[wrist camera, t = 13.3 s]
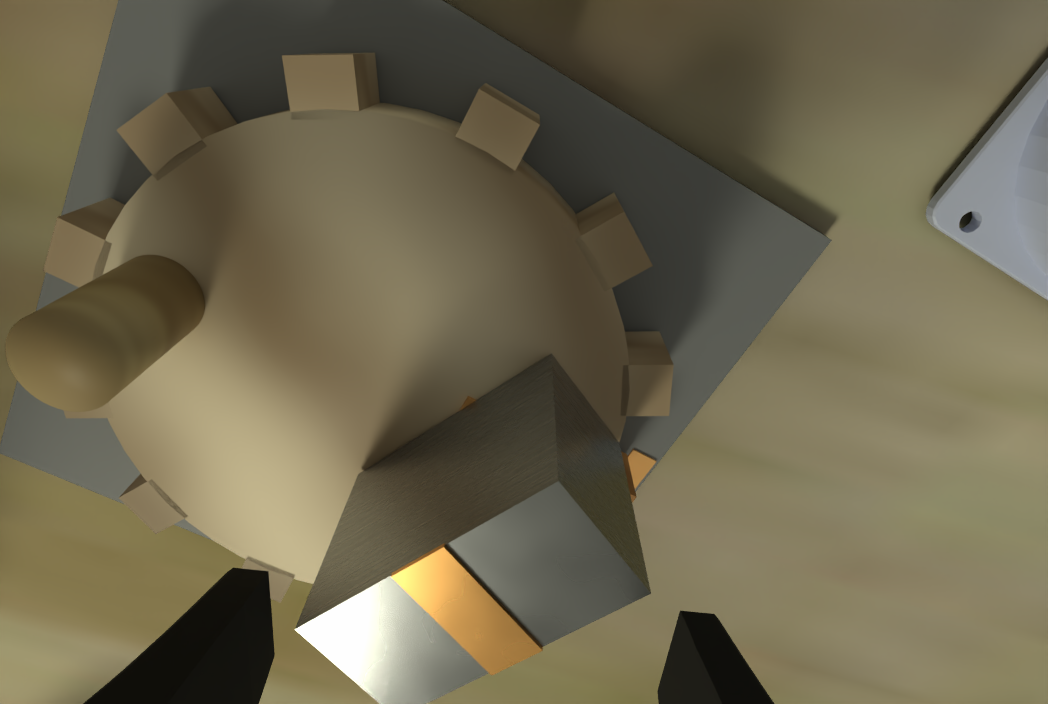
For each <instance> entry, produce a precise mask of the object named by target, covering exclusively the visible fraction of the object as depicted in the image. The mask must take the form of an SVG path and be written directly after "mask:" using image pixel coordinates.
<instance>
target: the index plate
mask: <svg viewBox="0 0 1048 704" xmlns="http://www.w3.org/2000/svg"><path fill="white" fill-rule="evenodd" d="M318 53H375V58H376V68H377V78H378V88H379V98H380V103H389V104H394V105H399V106H404V107H409V108H414V109H420V110H424V111H427V112H430V113H433V114H436V115H439V116H442V117H445V118H448V119H451V120H454V121H457V122H459V123H461V124H462V122H463V120H464V118H465V116H466V114H467V112H468V110H469V108H470V106H471V104H472V102H473V100H474V98H475V96H476V94H477V92H478V90H479V88H480V87H482V86H483V85H484V84H485V83H487V84H488V85H490V86H492V87H494V88H495V89H497V90H499V91H500V92H502V93H504V94H505V95H507V96H509V97H510V98H512V99H514V100H515V101H517V102H519V103H520V104H522V105H524V106H525V107H527V108H529V109H530V110H532V111H534V112H535V113H537V114H539V116H540V126H539V128H538V130H537V131H536V133H535V135H534V137H533V139H532V141H531V142H530V144H529V146H528V148H527V150H526V152H525V153H524V155H523V157H522V159H523V160H524V161H525V162H526V163H528V164H529V165H530V166H531V167H532V168H533V169H534V170H536V171H537V172H538V173H539V174H540V175H541V176H542V177H544V178H545V179H546V180H547V181H548V182H549V183H550V184H551V185H552V186H553V187H554V188H555V190H556V191H557V192H558V193H559V194H560V195H561V196H562V198H563V199H564V200H565V201H566V202H567V203H568V205H569V206H570V207H571V208H572V209H573V211H574V212H575V214H577V213H579V212H581V211H582V210H584V209H586V208H588V207H589V206H591V205H593V204H595V203H596V202H598V201H600V200H601V199H603V198H605V197H607V196H608V195H610V194H612V193H615V195H616V197H617V199H618V201H619V203H620V205H621V206H622V208H623V210H624V212H625V214H626V216H627V218H628V220H629V221H630V223H631V225H632V227H633V229H634V231H635V233H636V235H637V236H638V238H639V240H640V242H641V244H642V246H643V248H644V250H645V252H646V254H647V255H648V257H649V259H650V261H651V263H652V265H653V266H652V267H650V268H648V269H646V270H644V271H642V272H641V273H639V274H637V275H635V276H633V277H631V278H629V279H628V280H626V281H624V282H622V283H620V284H618V285H616V286H615V287H613V288H612V290H613V293H614V296H615V300H616V303H617V306H618V309H619V312H620V316H621V319H622V322H623V325H624V330H625V332H639V331H659V332H660V334H661V336H662V339H663V341H664V343H665V346H666V348H667V350H668V353H669V355H670V357H671V360H672V362H673V364H674V366H673V377H672V388H671V399H670V410H669V416H626V422H625V425H624V428H623V432H622V435H621V439H620V442H619V443H620V448H621V451H622V452H624V453H626V454H627V457H628V461H629V466H630V470H631V475H632V479H633V484H634V488H635V492H636V491H637V489H638V488H639V487H640V486H641V484H642V483H643V482H644V480H645V479H646V478H647V477H648V475H649V474H650V473H651V471H652V470H653V469H654V468H655V466H656V465H657V464H658V462H659V461H660V460H661V459H662V457H663V456H664V455H665V453H666V452H667V451H668V450H669V448H670V447H671V446H672V445H673V443H674V442H675V441H676V439H677V438H678V437H679V436H680V434H681V433H682V432H683V430H684V429H685V428H686V427H687V425H688V424H689V423H690V421H691V420H692V419H693V418H694V416H695V415H696V414H697V412H698V411H699V410H700V409H701V407H702V406H703V405H704V403H705V402H706V401H707V400H708V398H709V397H710V396H711V394H712V393H713V392H714V391H715V389H716V388H717V387H718V385H719V384H720V383H721V382H722V380H723V379H724V378H725V377H726V375H727V374H728V373H729V371H730V370H731V369H732V368H733V366H734V365H735V364H736V362H737V361H738V360H739V359H740V357H741V356H742V355H743V353H744V352H745V351H746V350H747V348H748V347H749V346H750V344H751V343H752V342H753V341H754V339H755V338H756V337H757V335H758V334H759V333H760V332H761V330H762V329H763V328H764V326H765V325H766V324H767V323H768V321H769V320H770V319H771V317H772V316H773V315H774V314H775V312H776V311H777V310H778V308H779V307H780V306H781V305H782V303H783V302H784V301H785V300H786V298H787V297H788V296H789V294H790V293H791V292H792V291H793V289H794V288H795V287H796V285H797V284H798V283H799V282H800V280H801V279H802V278H803V276H804V275H805V274H806V273H807V271H808V270H809V269H810V267H811V266H812V265H813V264H814V262H815V261H816V260H817V258H818V257H819V256H820V255H821V253H822V252H823V251H824V249H825V248H826V247H827V246H828V244H829V243H830V242H831V241H832V240H831V239H829V238H828V237H826V236H825V235H823V234H821V233H820V232H818V231H816V230H815V229H813V228H812V227H810V226H808V225H807V224H805V223H804V222H802V221H800V220H799V219H797V218H795V217H794V216H792V215H791V214H789V213H787V212H786V211H784V210H782V209H781V208H779V207H778V206H776V205H774V204H773V203H771V202H769V201H768V200H766V199H765V198H763V197H761V196H760V195H758V194H756V193H755V192H753V191H752V190H750V189H748V188H747V187H745V186H743V185H742V184H740V183H739V182H737V181H735V180H734V179H732V178H730V177H729V176H727V175H726V174H724V173H722V172H721V171H719V170H718V169H716V168H714V167H713V166H711V165H709V164H708V163H706V162H705V161H703V160H701V159H700V158H698V157H696V156H695V155H693V154H692V153H690V152H688V151H687V150H685V149H683V148H682V147H680V146H679V145H677V144H675V143H674V142H672V141H670V140H669V139H667V138H666V137H664V136H662V135H661V134H659V133H657V132H656V131H654V130H653V129H651V128H649V127H648V126H646V125H644V124H643V123H641V122H640V121H638V120H636V119H635V118H633V117H631V116H630V115H628V114H627V113H625V112H623V111H622V110H620V109H619V108H617V107H615V106H614V105H612V104H610V103H609V102H607V101H606V100H604V99H602V98H601V97H599V96H597V95H596V94H594V93H593V92H591V91H589V90H588V89H586V88H584V87H583V86H581V85H580V84H578V83H576V82H575V81H573V80H571V79H570V78H568V77H567V76H565V75H563V74H562V73H560V72H558V71H557V70H555V69H554V68H552V67H550V66H549V65H547V64H545V63H544V62H542V61H541V60H539V59H537V58H536V57H534V56H532V55H531V54H529V53H528V52H526V51H524V50H523V49H521V48H520V47H518V46H516V45H515V44H513V43H511V42H510V41H508V40H507V39H505V38H503V37H502V36H500V35H498V34H497V33H495V32H494V31H492V30H490V29H489V28H487V27H485V26H484V25H482V24H481V23H479V22H477V21H476V20H474V19H472V18H471V17H469V16H468V15H466V14H464V13H463V12H461V11H459V10H458V9H456V8H455V7H453V6H451V5H450V4H448V3H446V2H445V1H443V0H119V1H118V4H117V8H116V12H115V16H114V19H113V23H112V27H111V31H110V34H109V38H108V42H107V46H106V49H105V53H104V57H103V61H102V64H101V68H100V72H99V76H98V80H97V83H96V87H95V91H94V95H93V98H92V102H91V106H90V110H89V113H88V117H87V121H86V125H85V128H84V132H83V136H82V140H81V143H80V147H79V151H78V155H77V158H76V162H75V166H74V170H73V173H72V177H71V181H70V185H69V188H68V192H67V196H66V200H65V203H64V207H63V211H62V215H64V214H67V213H70V212H72V211H75V210H78V209H81V208H83V207H86V206H89V205H91V204H94V203H97V202H99V201H102V200H105V199H107V198H112V199H114V200H116V201H118V202H120V203H122V204H124V205H126V203H127V202H128V201H129V200H130V199H131V198H132V196H133V195H134V194H135V193H136V192H137V190H138V189H139V188H140V187H141V186H142V185H143V183H144V182H145V181H146V180H147V179H148V178H149V177H150V176H151V175H152V174H151V172H150V171H149V170H148V169H147V167H146V166H145V165H144V164H143V163H142V161H141V160H140V159H139V158H138V156H137V155H136V154H135V153H134V151H133V150H132V149H131V148H130V146H129V145H128V144H127V143H126V142H125V140H124V139H123V138H122V137H121V135H120V134H119V133H118V132H117V129H118V128H120V127H121V126H122V125H124V124H125V123H127V122H128V121H129V120H131V119H132V118H133V117H135V116H136V115H137V114H139V113H140V112H141V111H143V110H144V109H145V108H147V107H148V106H149V105H151V104H152V103H154V102H155V101H156V100H158V99H159V98H160V97H162V96H163V95H164V94H166V93H169V92H176V91H183V90H190V89H197V88H204V87H211V88H212V90H213V91H214V92H215V94H216V95H217V96H218V98H219V99H220V101H221V102H222V103H223V105H224V106H225V107H226V109H227V110H228V111H229V113H230V114H231V115H232V117H233V118H234V120H235V121H236V122H237V124H239V123H242V122H245V121H248V120H252V119H255V118H259V117H262V116H266V115H269V114H273V113H277V112H280V111H285V110H289V109H290V106H289V99H288V93H287V86H286V80H285V73H284V67H283V60H282V55H298V54H318ZM62 215H61V216H62ZM78 288H79V287H77V286H75V285H73V284H70V283H68V282H66V281H64V280H62V279H60V278H58V277H55V276H53V275H51V274H49V273H47V272H46V275H45V279H44V282H43V286H42V290H41V294H40V297H39V301H38V305H37V309H36V311H37V310H39V309H41V308H43V307H44V306H46V305H48V304H50V303H52V302H54V301H55V300H57V299H59V298H61V297H63V296H65V295H66V294H68V293H70V292H72V291H74V290H76V289H78ZM0 454H3V455H5V456H8V457H10V458H13V459H15V460H18V461H20V462H22V463H25V464H27V465H30V466H32V467H35V468H37V469H40V470H42V471H44V472H47V473H49V474H52V475H54V476H57V477H59V478H62V479H64V480H66V481H69V482H71V483H74V484H76V485H79V486H81V487H84V488H86V489H88V490H91V491H93V492H96V493H98V494H101V495H103V496H105V497H108V498H110V499H113V500H115V501H118V502H120V503H123V502H122V501H121V500H120V499H119V497H120V496H121V495H122V493H123V492H124V491H125V490H126V489H127V488H128V487H129V486H130V485H131V484H132V482H133V481H134V480H135V479H136V478H137V477H138V476H139V475H140V474H141V473H140V472H139V470H138V469H137V468H136V466H135V465H134V463H133V462H132V461H131V459H130V458H129V456H128V455H127V454H126V452H125V451H124V449H123V447H122V445H121V443H120V441H119V440H118V438H117V436H116V434H115V432H114V430H113V429H112V427H111V425H110V423H109V421H108V418H66V416H65V414H64V411H63V410H61V409H57V408H55V407H52V406H50V405H48V404H45V403H43V402H42V401H40V400H38V399H37V398H35V397H34V396H33V395H31V394H30V393H29V392H28V391H27V390H26V389H25V388H24V387H23V386H22V385H21V384H20V383H19V382H18V380H17V384H16V388H15V391H14V395H13V399H12V403H11V406H10V410H9V414H8V418H7V421H6V425H5V429H4V433H3V436H2V440H1V444H0ZM123 504H124V503H123ZM174 525H176V526H179V527H181V528H184V529H186V530H189V531H191V532H193V533H196V534H198V535H201V536H203V537H206V538H208V539H211V538H209V537H208V536H206V535H205V534H204V533H202V532H201V531H200V530H198V529H197V528H196V527H194V526H193V525H191V524H190V523H189V522H188V521H186V520H185V519H183V520H181V521H179V522H177V523H175V524H174ZM211 540H212V539H211Z"/></svg>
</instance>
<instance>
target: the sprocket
mask: <svg viewBox="0 0 1048 704" xmlns="http://www.w3.org/2000/svg"><path fill="white" fill-rule="evenodd" d="M282 60H283V67H284V73H285V80H286V86H287V93H288V99H289V106H290V109H289V110H285V111H280V112H277V113H273V114H269V115H266V116H262V117H259V118H255V119H252V120H248V121H245V122H242V123H239V124H237V122H236V121H235V120H234V118H233V117H232V115H231V114H230V113H229V111H228V110H227V109H226V107H225V106H224V105H223V103H222V102H221V101H220V99H219V98H218V96H217V95H216V94H215V92H214V91H213V90H212V88H211V87H204V88H197V89H190V90H183V91H176V92H169V93H166V94H164V95H163V96H162V97H160V98H159V99H158V100H156V101H155V102H154V103H152V104H151V105H149V106H148V107H147V108H145V109H144V110H143V111H141V112H140V113H139V114H137V115H136V116H135V117H133V118H132V119H131V120H129V121H128V122H127V123H125V124H124V125H122V126H121V127H120V128H118V129H117V132H118V133H119V134H120V135H121V137H122V138H123V139H124V140H125V142H126V143H127V144H128V145H129V146H130V148H131V149H132V150H133V151H134V153H135V154H136V155H137V156H138V158H139V159H140V160H141V161H142V163H143V164H144V165H145V166H146V167H147V169H148V170H149V171H150V172H151V174H152V175H151V176H150V177H149V178H148V179H147V180H146V181H145V182H144V183H143V185H142V186H141V187H140V188H139V189H138V190H137V192H136V193H135V194H134V195H133V196H132V198H131V199H130V200H129V201H128V202H127V203H126V205H124V204H122V203H120V202H118V201H116V200H114V199H112V198H107V199H105V200H102V201H99V202H97V203H94V204H91V205H89V206H86V207H83V208H81V209H78V210H75V211H72V212H70V213H67V214H64V215H62V216H59V217H57V220H56V224H55V228H54V232H53V235H52V239H51V243H50V247H49V251H48V254H47V258H46V262H45V266H44V270H43V271H45V272H47V273H49V274H51V275H53V276H55V277H58V278H60V279H62V280H64V281H66V282H68V283H70V284H73V285H75V286H77V287H79V288H78V289H76V290H74V291H72V292H70V293H68V294H66V295H65V296H63V297H61V298H59V299H57V300H55V301H54V302H52V303H50V304H48V305H46V306H44V307H43V308H41V309H39V310H37V311H35V312H33V313H32V314H30V315H28V316H26V317H24V318H22V319H21V320H19V321H18V322H17V323H16V324H15V325H14V326H13V327H12V328H11V330H10V331H9V333H8V336H7V339H6V344H5V352H6V358H7V362H8V365H9V367H10V369H11V371H12V373H13V375H14V376H15V378H16V379H17V380H18V382H19V383H20V384H21V385H22V386H23V387H24V388H25V389H26V390H27V391H28V392H29V393H30V394H31V395H33V396H34V397H35V398H37V399H38V400H40V401H42V402H43V403H45V404H48V405H50V406H52V407H55V408H57V409H61V410H63V411H64V414H65V416H66V418H108V421H109V423H110V425H111V427H112V429H113V430H114V432H115V434H116V436H117V438H118V440H119V441H120V443H121V445H122V447H123V449H124V451H125V452H126V454H127V455H128V456H129V458H130V459H131V461H132V462H133V463H134V465H135V466H136V468H137V469H138V470H139V472H140V473H141V474H140V475H139V476H138V477H137V478H136V479H135V480H134V481H133V482H132V484H131V485H130V486H129V487H128V488H127V489H126V490H125V491H124V492H123V493H122V495H121V496H120V497H119V499H120V500H121V501H122V502H123V503H124V504H125V505H126V506H127V507H128V508H129V509H130V510H131V511H133V512H134V513H135V514H136V515H137V516H138V517H139V518H140V519H141V520H142V521H143V522H144V523H145V524H146V525H147V526H148V527H149V528H150V529H151V530H152V531H153V532H154V533H155V534H157V533H159V532H161V531H162V530H164V529H166V528H168V527H170V526H172V525H174V524H175V523H177V522H179V521H181V520H183V519H185V520H186V521H188V522H189V523H190V524H191V525H193V526H194V527H196V528H197V529H198V530H200V531H201V532H202V533H204V534H205V535H206V536H208V537H209V538H211V539H212V540H213V541H215V542H217V543H218V544H220V545H222V546H223V547H225V548H227V549H229V550H230V551H232V552H234V553H235V554H237V555H239V556H240V557H242V558H245V559H246V560H245V562H244V564H243V566H242V568H241V569H251V570H261V571H269V585H270V599H273V600H275V601H278V602H281V601H282V599H283V597H284V595H285V593H286V591H287V590H288V588H289V586H290V584H291V582H292V580H293V578H294V579H296V580H300V581H304V582H308V583H312V584H314V581H315V579H316V576H317V574H318V572H319V569H320V567H321V564H322V562H323V559H324V557H325V554H326V552H327V549H328V547H329V545H330V542H331V540H332V537H333V535H334V532H335V530H336V527H337V525H338V522H339V520H340V517H341V515H342V513H343V510H344V508H345V505H346V503H347V500H348V498H349V495H350V493H351V490H352V488H353V486H354V483H355V481H356V478H357V476H358V474H359V473H361V472H362V471H364V470H365V469H367V468H369V467H370V466H372V465H373V464H375V463H377V462H378V461H380V460H381V459H383V458H385V457H386V456H388V455H389V454H391V453H393V452H394V451H396V450H397V449H399V448H401V447H402V446H404V445H405V444H407V443H409V442H410V441H412V440H413V439H415V438H417V437H418V436H420V435H421V434H423V433H425V432H426V431H428V430H429V429H431V428H433V427H434V426H436V425H437V424H439V423H441V422H442V421H444V420H445V419H447V418H449V417H450V416H452V415H454V414H455V413H457V412H458V411H460V410H462V409H463V408H465V407H466V406H468V405H470V404H471V403H473V402H474V401H476V400H478V399H479V398H481V397H482V396H484V395H486V394H487V393H489V392H490V391H492V390H494V389H495V388H497V387H498V386H500V385H502V384H503V383H505V382H506V381H508V380H510V379H511V378H513V377H514V376H516V375H518V374H519V373H521V372H522V371H524V370H526V369H527V368H529V367H530V366H532V365H534V364H535V363H537V362H538V361H540V360H542V359H543V358H545V357H546V356H548V355H550V354H551V353H552V354H553V356H554V357H555V358H556V360H557V361H558V362H559V364H560V365H561V366H562V368H563V369H564V370H565V371H566V373H567V374H568V375H569V377H570V378H571V379H572V381H573V382H574V383H575V385H576V386H577V387H578V389H579V390H580V391H581V393H582V394H583V395H584V397H585V398H586V399H587V401H588V402H589V403H590V405H591V406H592V407H593V409H594V410H595V411H596V412H597V414H598V415H599V416H600V418H601V419H602V420H603V422H604V423H605V424H606V426H607V427H608V428H609V430H610V431H611V432H612V434H613V435H614V436H615V438H616V439H617V440H618V442H620V439H621V435H622V432H623V428H624V425H625V422H626V416H669V410H670V399H671V388H672V377H673V366H674V364H673V362H672V360H671V357H670V355H669V353H668V350H667V348H666V346H665V343H664V341H663V339H662V336H661V334H660V332H659V331H639V332H625V330H624V325H623V322H622V319H621V316H620V312H619V309H618V306H617V303H616V300H615V296H614V293H613V290H612V288H613V287H615V286H616V285H618V284H620V283H622V282H624V281H626V280H628V279H629V278H631V277H633V276H635V275H637V274H639V273H641V272H642V271H644V270H646V269H648V268H650V267H652V266H653V265H652V263H651V261H650V259H649V257H648V255H647V254H646V252H645V250H644V248H643V246H642V244H641V242H640V240H639V238H638V236H637V235H636V233H635V231H634V229H633V227H632V225H631V223H630V221H629V220H628V218H627V216H626V214H625V212H624V210H623V208H622V206H621V205H620V203H619V201H618V199H617V197H616V195H615V193H612V194H610V195H608V196H607V197H605V198H603V199H601V200H600V201H598V202H596V203H595V204H593V205H591V206H589V207H588V208H586V209H584V210H582V211H581V212H579V213H577V214H575V212H574V211H573V209H572V208H571V207H570V206H569V205H568V203H567V202H566V201H565V200H564V199H563V198H562V196H561V195H560V194H559V193H558V192H557V191H556V190H555V188H554V187H553V186H552V185H551V184H550V183H549V182H548V181H547V180H546V179H545V178H544V177H542V176H541V175H540V174H539V173H538V172H537V171H536V170H534V169H533V168H532V167H531V166H530V165H529V164H528V163H526V162H525V161H524V160H523V159H522V157H523V155H524V153H525V152H526V150H527V148H528V146H529V144H530V142H531V141H532V139H533V137H534V135H535V133H536V131H537V130H538V128H539V126H540V116H539V114H537V113H535V112H534V111H532V110H530V109H529V108H527V107H525V106H524V105H522V104H520V103H519V102H517V101H515V100H514V99H512V98H510V97H509V96H507V95H505V94H504V93H502V92H500V91H499V90H497V89H495V88H494V87H492V86H490V85H488V84H487V83H485V84H484V85H483V86H482V87H480V88H479V90H478V92H477V94H476V96H475V98H474V100H473V102H472V104H471V106H470V108H469V110H468V112H467V114H466V116H465V118H464V120H463V122H462V124H461V123H459V122H457V121H454V120H451V119H448V118H445V117H442V116H439V115H436V114H433V113H430V112H427V111H424V110H420V109H414V108H409V107H404V106H399V105H394V104H389V103H380V98H379V88H378V78H377V68H376V58H375V53H318V54H298V55H282ZM621 453H622V457H623V462H624V467H625V472H626V477H627V481H628V486H629V491H630V496H631V500H632V502H633V501H634V500H635V498H636V493H635V488H634V484H633V479H632V475H631V470H630V466H629V461H628V457H627V454H626V453H624V452H622V451H621Z"/></svg>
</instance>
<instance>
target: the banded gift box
mask: <svg viewBox="0 0 1048 704" xmlns="http://www.w3.org/2000/svg"><path fill="white" fill-rule="evenodd" d="M649 594H651V591H650V586H649V582H648V577H647V572H646V567H645V563H644V558H643V553H642V548H641V543H640V539H639V534H638V529H637V524H636V520H635V515H634V510H633V505H632V500H631V496H630V491H629V486H628V481H627V477H626V472H625V467H624V462H623V457H622V453H621V448H620V443H619V442H618V440H617V439H616V438H615V436H614V435H613V434H612V432H611V431H610V430H609V428H608V427H607V426H606V424H605V423H604V422H603V420H602V419H601V418H600V416H599V415H598V414H597V412H596V411H595V410H594V409H593V407H592V406H591V405H590V403H589V402H588V401H587V399H586V398H585V397H584V395H583V394H582V393H581V391H580V390H579V389H578V387H577V386H576V385H575V383H574V382H573V381H572V379H571V378H570V377H569V375H568V374H567V373H566V371H565V370H564V369H563V368H562V366H561V365H560V364H559V362H558V361H557V360H556V358H555V357H554V356H553V354H552V353H551V354H550V355H548V356H546V357H545V358H543V359H542V360H540V361H538V362H537V363H535V364H534V365H532V366H530V367H529V368H527V369H526V370H524V371H522V372H521V373H519V374H518V375H516V376H514V377H513V378H511V379H510V380H508V381H506V382H505V383H503V384H502V385H500V386H498V387H497V388H495V389H494V390H492V391H490V392H489V393H487V394H486V395H484V396H482V397H481V398H479V399H478V400H476V401H474V402H473V403H471V404H470V405H468V406H466V407H465V408H463V409H462V410H460V411H458V412H457V413H455V414H454V415H452V416H450V417H449V418H447V419H445V420H444V421H442V422H441V423H439V424H437V425H436V426H434V427H433V428H431V429H429V430H428V431H426V432H425V433H423V434H421V435H420V436H418V437H417V438H415V439H413V440H412V441H410V442H409V443H407V444H405V445H404V446H402V447H401V448H399V449H397V450H396V451H394V452H393V453H391V454H389V455H388V456H386V457H385V458H383V459H381V460H380V461H378V462H377V463H375V464H373V465H372V466H370V467H369V468H367V469H365V470H364V471H362V472H361V473H359V474H358V476H357V478H356V481H355V483H354V486H353V488H352V490H351V493H350V495H349V498H348V500H347V503H346V505H345V508H344V510H343V513H342V515H341V517H340V520H339V522H338V525H337V527H336V530H335V532H334V535H333V537H332V540H331V542H330V545H329V547H328V549H327V552H326V554H325V557H324V559H323V562H322V564H321V567H320V569H319V572H318V574H317V576H316V579H315V581H314V584H313V586H312V589H311V591H310V594H309V596H308V599H307V601H306V603H305V606H304V608H303V611H302V613H301V616H300V618H299V621H298V623H297V626H296V628H295V630H296V631H297V632H298V633H299V634H301V635H302V636H303V637H304V638H305V639H306V640H307V641H309V642H310V643H311V644H312V645H313V646H314V647H315V648H317V649H318V650H319V651H320V652H321V653H322V654H323V655H325V656H326V657H327V658H328V659H329V660H330V661H331V662H333V663H334V664H335V665H336V666H337V667H338V668H339V669H341V670H342V671H343V672H344V673H345V674H346V675H348V676H349V677H350V678H351V679H352V680H353V681H354V682H356V683H357V684H358V685H359V686H360V687H361V688H362V689H364V690H365V691H366V692H367V693H368V694H369V695H370V696H372V697H373V698H374V699H375V700H376V701H377V702H378V703H380V704H427V703H429V702H431V701H433V700H435V699H437V698H439V697H441V696H443V695H445V694H447V693H449V692H451V691H453V690H455V689H457V688H459V687H461V686H463V685H465V684H467V683H470V682H472V681H474V680H476V679H478V678H480V677H482V676H484V675H486V674H488V673H489V674H490V675H494V674H496V673H498V672H500V671H502V670H504V669H506V668H508V667H510V666H512V665H514V664H516V663H518V662H520V661H522V660H524V659H526V658H528V657H531V656H533V655H535V654H537V653H539V652H541V651H543V650H542V647H543V646H545V645H547V644H549V643H551V642H553V641H555V640H557V639H559V638H561V637H563V636H565V635H567V634H569V633H571V632H573V631H575V630H577V629H579V628H582V627H584V626H586V625H588V624H590V623H592V622H594V621H596V620H598V619H600V618H602V617H604V616H606V615H608V614H610V613H612V612H614V611H616V610H618V609H620V608H622V607H624V606H626V605H628V604H630V603H632V602H634V601H637V600H639V599H641V598H643V597H645V596H647V595H649Z"/></svg>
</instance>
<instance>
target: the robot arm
mask: <svg viewBox="0 0 1048 704" xmlns="http://www.w3.org/2000/svg"><path fill="white" fill-rule="evenodd" d="M967 212H972V219H971V221H970V222H969V224H968V225H966V226H965V227H963V228H959V222H960V220H961V218H962V216H964V215H965V214H966V213H967ZM926 217H927V221H928V222H929V223H930V224H931V225H932V226H933V227H934V228H936V229H938V230H939V231H941V232H942V233H944V234H945V235H947V236H948V237H950V238H952V239H953V240H955V241H956V242H958V243H959V244H961V245H962V246H964V247H965V248H967V249H969V250H970V251H972V252H973V253H975V254H976V255H978V256H979V257H981V258H983V259H984V260H986V261H987V262H989V263H990V264H992V265H993V266H995V267H996V268H998V269H1000V270H1001V271H1003V272H1004V273H1006V274H1007V275H1009V276H1010V277H1012V278H1013V279H1015V280H1017V281H1018V282H1020V283H1021V284H1023V285H1024V286H1026V287H1027V288H1029V289H1031V290H1032V291H1034V292H1035V293H1037V294H1038V295H1040V296H1041V297H1043V298H1044V299H1046V300H1048V58H1047V59H1046V60H1045V61H1044V63H1043V64H1042V65H1041V66H1040V67H1039V69H1038V70H1037V71H1036V72H1035V73H1034V75H1033V76H1032V77H1031V78H1030V80H1029V81H1028V82H1027V83H1026V84H1025V86H1024V87H1023V88H1022V89H1021V90H1020V92H1019V93H1018V94H1017V95H1016V97H1015V98H1014V99H1013V100H1012V101H1011V103H1010V104H1009V105H1008V106H1007V107H1006V109H1005V110H1004V111H1003V112H1002V114H1001V115H1000V116H999V117H998V118H997V120H996V121H995V122H994V123H993V125H992V126H991V127H990V128H989V129H988V131H987V132H986V133H985V134H984V135H983V137H982V138H981V139H980V140H979V142H978V143H977V144H976V145H975V146H974V148H973V149H972V150H971V151H970V152H969V154H968V155H967V156H966V157H965V159H964V160H963V161H962V162H961V163H960V165H959V166H958V167H957V168H956V169H955V171H954V172H953V173H952V174H951V176H950V177H949V178H948V179H947V180H946V182H945V183H944V184H943V185H942V187H941V188H940V189H939V190H938V191H937V193H936V194H935V195H934V196H933V197H932V199H931V200H930V202H929V204H928V206H927V210H926ZM273 659H274V641H273V627H272V613H271V599H270V585H269V571H261V570H251V569H241V568H232V569H231V570H230V571H228V572H227V573H226V574H225V575H224V576H223V577H222V578H221V579H220V580H219V581H218V582H217V583H216V584H215V585H213V586H212V587H211V588H210V589H209V590H208V591H207V592H206V593H205V594H204V595H203V596H202V597H201V598H200V599H199V600H198V601H197V602H196V603H195V604H194V605H193V606H192V607H191V608H190V609H189V610H188V611H187V612H186V613H185V614H184V615H183V616H181V617H180V618H179V619H178V620H177V621H176V622H175V623H174V624H173V625H172V626H171V627H170V628H169V629H168V630H167V631H166V632H165V633H163V634H162V635H161V636H160V637H159V638H158V639H157V640H156V641H155V642H154V643H152V644H151V645H150V646H149V647H148V648H147V649H146V650H145V651H144V652H143V653H141V654H140V655H139V656H138V657H137V658H136V659H135V660H134V661H133V662H132V663H130V664H129V665H128V666H127V667H126V668H125V669H124V670H123V671H121V672H120V673H119V674H118V675H117V676H116V677H115V678H113V679H112V680H111V681H110V682H109V683H107V684H106V685H105V686H104V687H103V688H101V689H100V690H99V691H98V692H97V693H95V694H94V695H93V696H92V697H91V698H90V699H88V700H87V701H86V702H85V703H84V704H259V701H260V698H261V695H262V692H263V689H264V686H265V683H266V680H267V677H268V674H269V671H270V668H271V665H272V662H273ZM658 700H659V704H774V702H773V701H772V700H771V698H770V697H769V695H768V694H767V692H766V691H765V689H764V688H763V686H762V685H761V683H760V682H759V680H758V679H757V677H756V676H755V674H754V673H753V671H752V670H751V668H750V667H749V665H748V664H747V662H746V661H745V659H744V658H743V656H742V655H741V653H740V652H739V650H738V649H737V647H736V645H735V644H734V642H733V641H732V639H731V638H730V636H729V635H728V633H727V631H726V630H725V628H724V627H723V625H722V624H721V622H720V621H719V619H718V618H717V617H716V615H715V614H709V613H698V612H688V611H680V613H679V617H678V620H677V624H676V627H675V631H674V634H673V638H672V641H671V645H670V649H669V652H668V656H667V659H666V663H665V666H664V670H663V673H662V677H661V681H660V684H659V688H658Z"/></svg>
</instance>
